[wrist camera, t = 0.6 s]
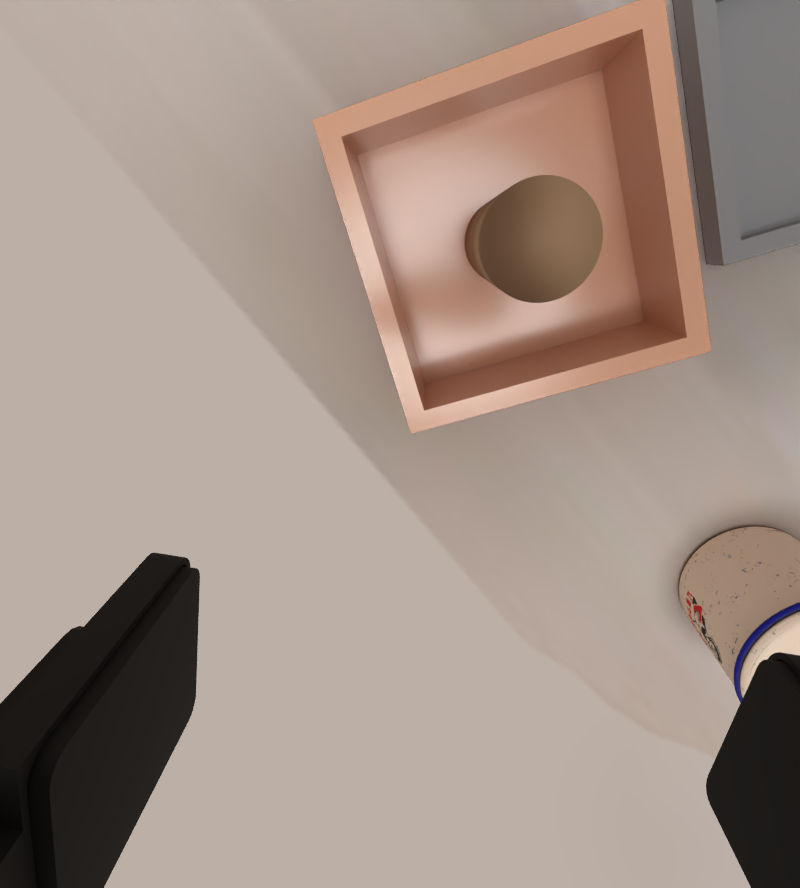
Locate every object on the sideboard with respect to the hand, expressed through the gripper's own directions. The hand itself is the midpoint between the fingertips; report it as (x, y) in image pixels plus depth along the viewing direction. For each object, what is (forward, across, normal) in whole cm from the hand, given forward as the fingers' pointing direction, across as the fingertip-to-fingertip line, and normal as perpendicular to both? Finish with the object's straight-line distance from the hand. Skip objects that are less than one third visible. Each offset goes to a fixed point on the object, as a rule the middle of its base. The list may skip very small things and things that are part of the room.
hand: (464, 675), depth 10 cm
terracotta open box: (+27, -2, -7) cm, 28 cm away
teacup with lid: (+27, -24, +12) cm, 38 cm away
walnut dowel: (+26, -2, -7) cm, 27 cm away
